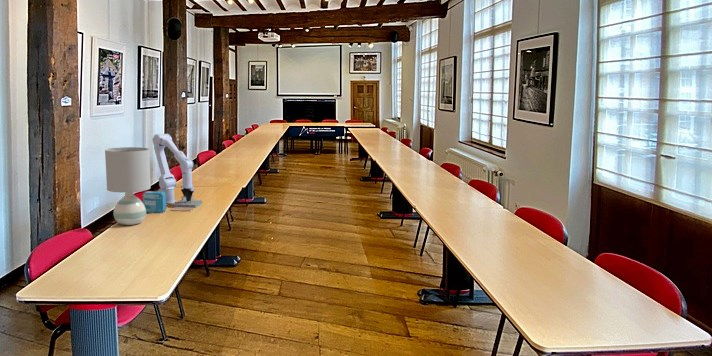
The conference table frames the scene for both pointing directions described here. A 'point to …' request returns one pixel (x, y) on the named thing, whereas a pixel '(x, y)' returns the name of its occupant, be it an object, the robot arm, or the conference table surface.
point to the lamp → (128, 181)
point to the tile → (182, 209)
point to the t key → (186, 198)
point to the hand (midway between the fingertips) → (187, 200)
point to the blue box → (154, 202)
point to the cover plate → (188, 204)
